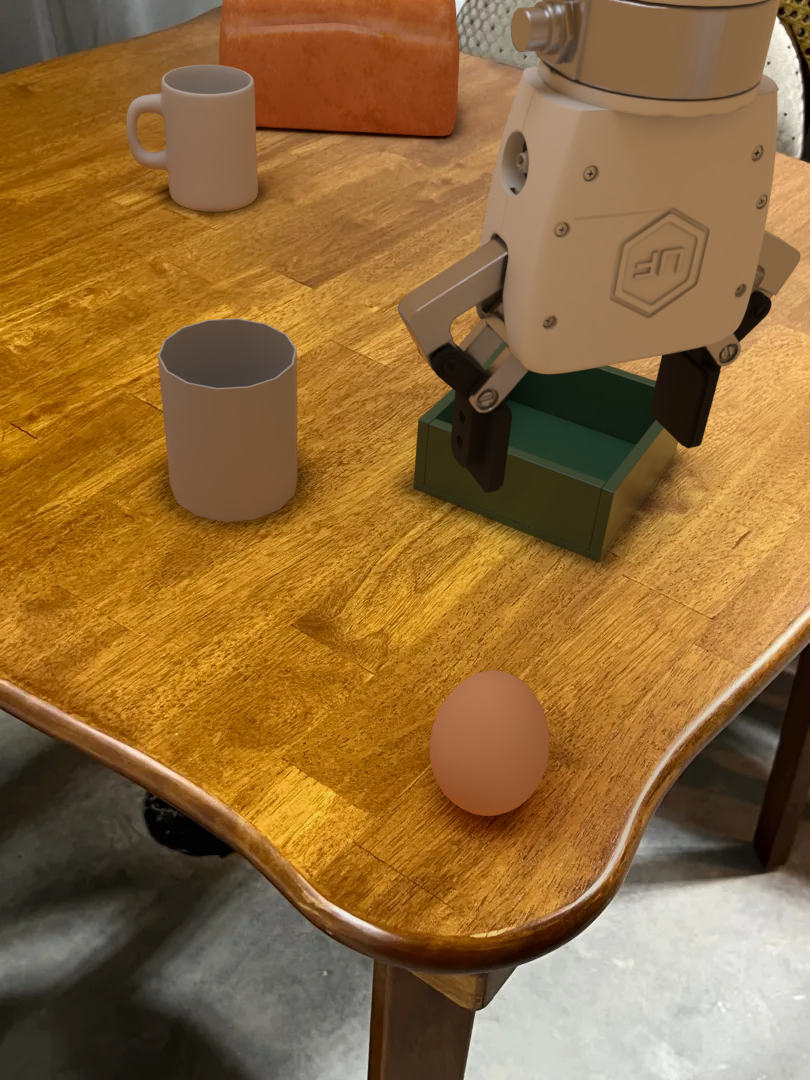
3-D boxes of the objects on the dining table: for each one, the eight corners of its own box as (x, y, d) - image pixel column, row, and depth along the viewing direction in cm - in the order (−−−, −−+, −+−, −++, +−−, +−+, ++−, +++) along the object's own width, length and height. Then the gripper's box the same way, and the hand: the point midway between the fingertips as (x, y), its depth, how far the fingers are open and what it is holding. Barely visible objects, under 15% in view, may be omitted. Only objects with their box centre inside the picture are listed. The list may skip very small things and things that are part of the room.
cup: (145, 482, 77) (130, 350, 70) (236, 432, 82) (230, 305, 75) (232, 539, 73) (225, 405, 66) (323, 483, 78) (324, 353, 71)
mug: (257, 176, 116) (253, 64, 109) (259, 212, 110) (256, 95, 103) (135, 177, 114) (123, 62, 107) (130, 213, 108) (118, 94, 101)
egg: (438, 852, 55) (451, 738, 50) (414, 759, 60) (424, 645, 54) (552, 836, 57) (578, 723, 51) (521, 746, 61) (541, 633, 56)
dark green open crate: (674, 459, 82) (691, 392, 78) (599, 563, 73) (613, 492, 69) (503, 398, 87) (512, 332, 83) (412, 488, 78) (417, 419, 74)
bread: (230, 87, 136) (223, -61, 125) (452, 99, 136) (464, -47, 126) (215, 130, 125) (207, -27, 115) (456, 143, 126) (469, -12, 116)
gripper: (470, 94, 33) (431, 547, 44) (931, 51, 39) (795, 462, 50) (374, 19, 39) (360, 441, 49) (793, -9, 44) (697, 374, 55)
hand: (579, 451), depth 50 cm, fingers open, 9 cm apart
